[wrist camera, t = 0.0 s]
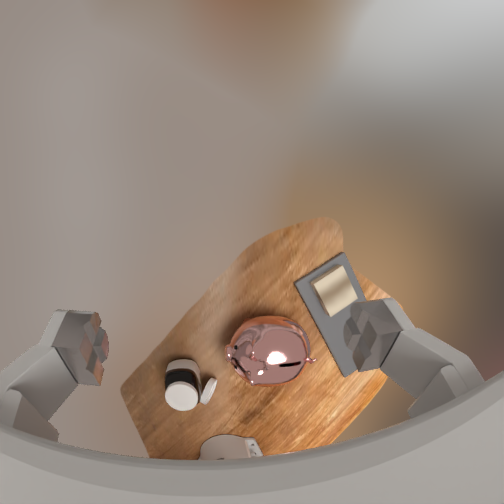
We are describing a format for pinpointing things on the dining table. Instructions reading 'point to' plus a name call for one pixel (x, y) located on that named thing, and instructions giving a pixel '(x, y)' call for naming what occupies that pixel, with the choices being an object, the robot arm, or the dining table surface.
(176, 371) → the spread jar
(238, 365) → the piggy bank
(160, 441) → the dining table surface
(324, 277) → the beige flat block
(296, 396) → the dining table surface
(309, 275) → the board
